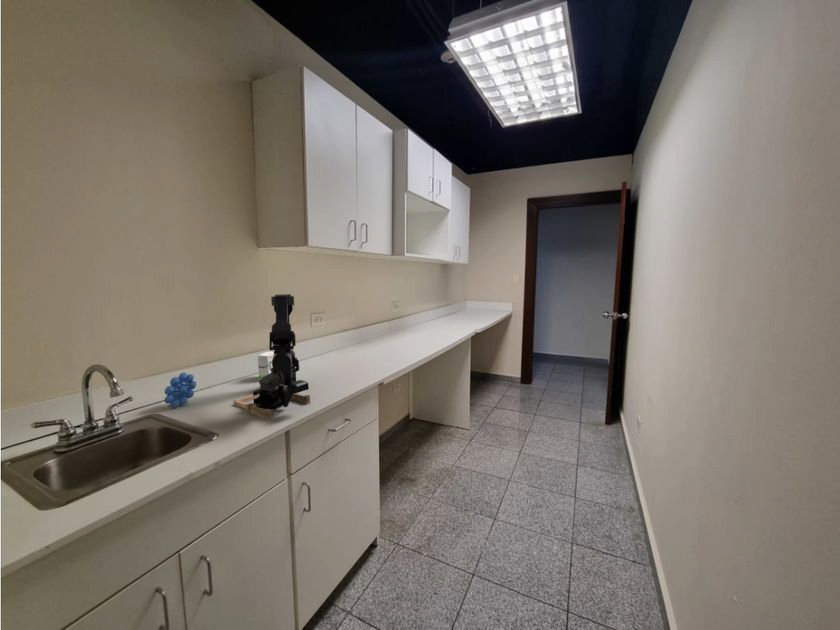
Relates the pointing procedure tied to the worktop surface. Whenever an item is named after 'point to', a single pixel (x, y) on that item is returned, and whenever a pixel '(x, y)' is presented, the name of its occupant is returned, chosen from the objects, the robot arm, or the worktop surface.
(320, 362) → the worktop surface
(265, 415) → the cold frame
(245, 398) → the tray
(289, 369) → the robot arm
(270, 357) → the ink box
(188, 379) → the grapes
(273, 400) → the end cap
